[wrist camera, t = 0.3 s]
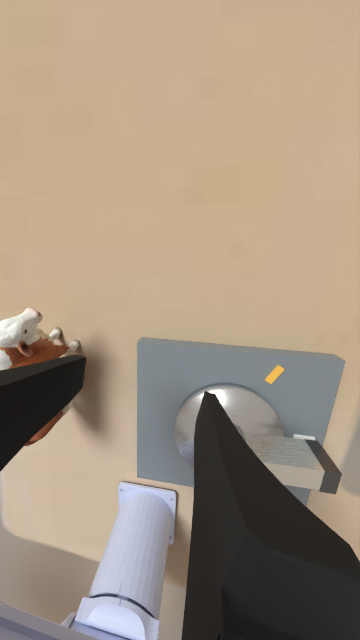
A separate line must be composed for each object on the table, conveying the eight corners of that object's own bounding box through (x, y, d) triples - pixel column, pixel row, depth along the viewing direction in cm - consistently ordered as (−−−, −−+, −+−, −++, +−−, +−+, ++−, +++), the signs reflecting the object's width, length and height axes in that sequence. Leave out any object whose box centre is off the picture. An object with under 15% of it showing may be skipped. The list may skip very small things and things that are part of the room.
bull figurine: (87, 302, 20) (14, 315, 12) (87, 405, 23) (27, 469, 15) (51, 297, 21) (-42, 306, 13) (55, 399, 24) (-18, 458, 16)
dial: (298, 481, 20) (323, 533, 16) (173, 461, 22) (166, 504, 17) (320, 392, 18) (356, 426, 14) (178, 377, 19) (171, 403, 15)
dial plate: (299, 491, 22) (307, 508, 21) (141, 465, 24) (136, 479, 23) (333, 354, 18) (346, 361, 17) (142, 337, 20) (136, 342, 19)
